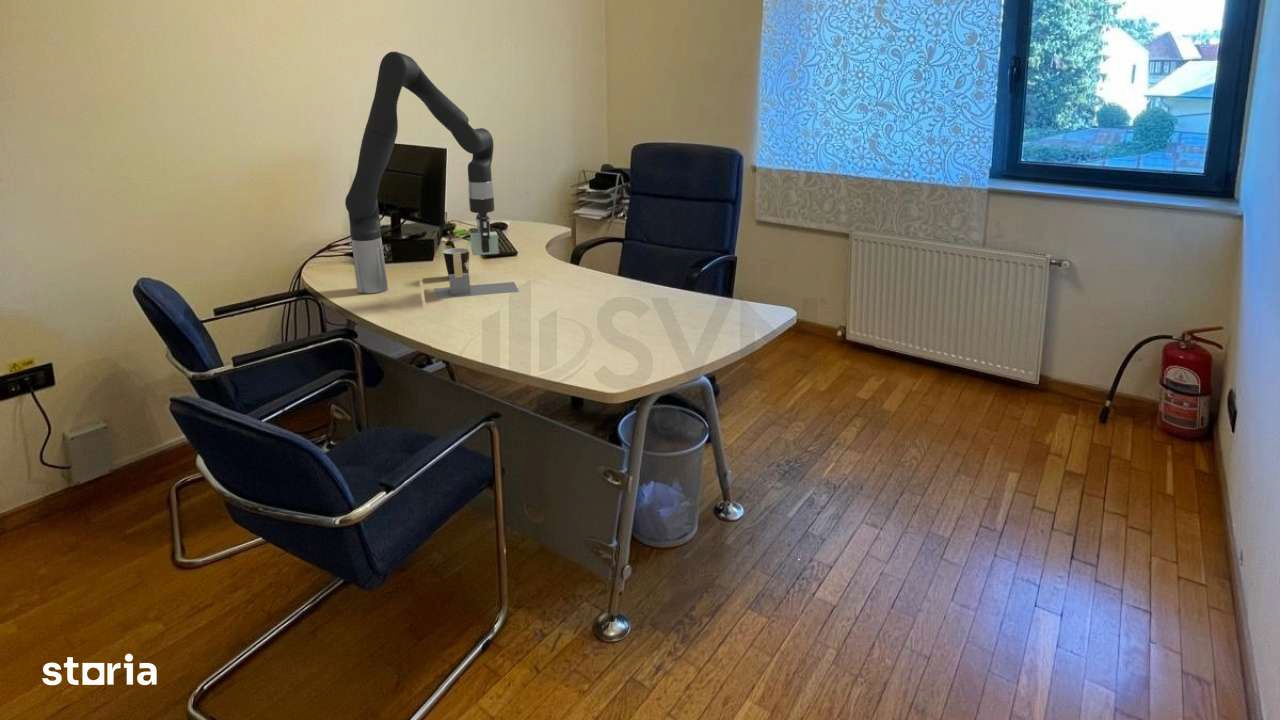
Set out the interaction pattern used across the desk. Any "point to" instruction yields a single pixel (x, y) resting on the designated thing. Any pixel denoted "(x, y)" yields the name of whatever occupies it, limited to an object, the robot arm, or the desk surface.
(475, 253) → the mint green block
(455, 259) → the t key
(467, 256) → the coffee mug
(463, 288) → the base board
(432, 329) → the desk surface
